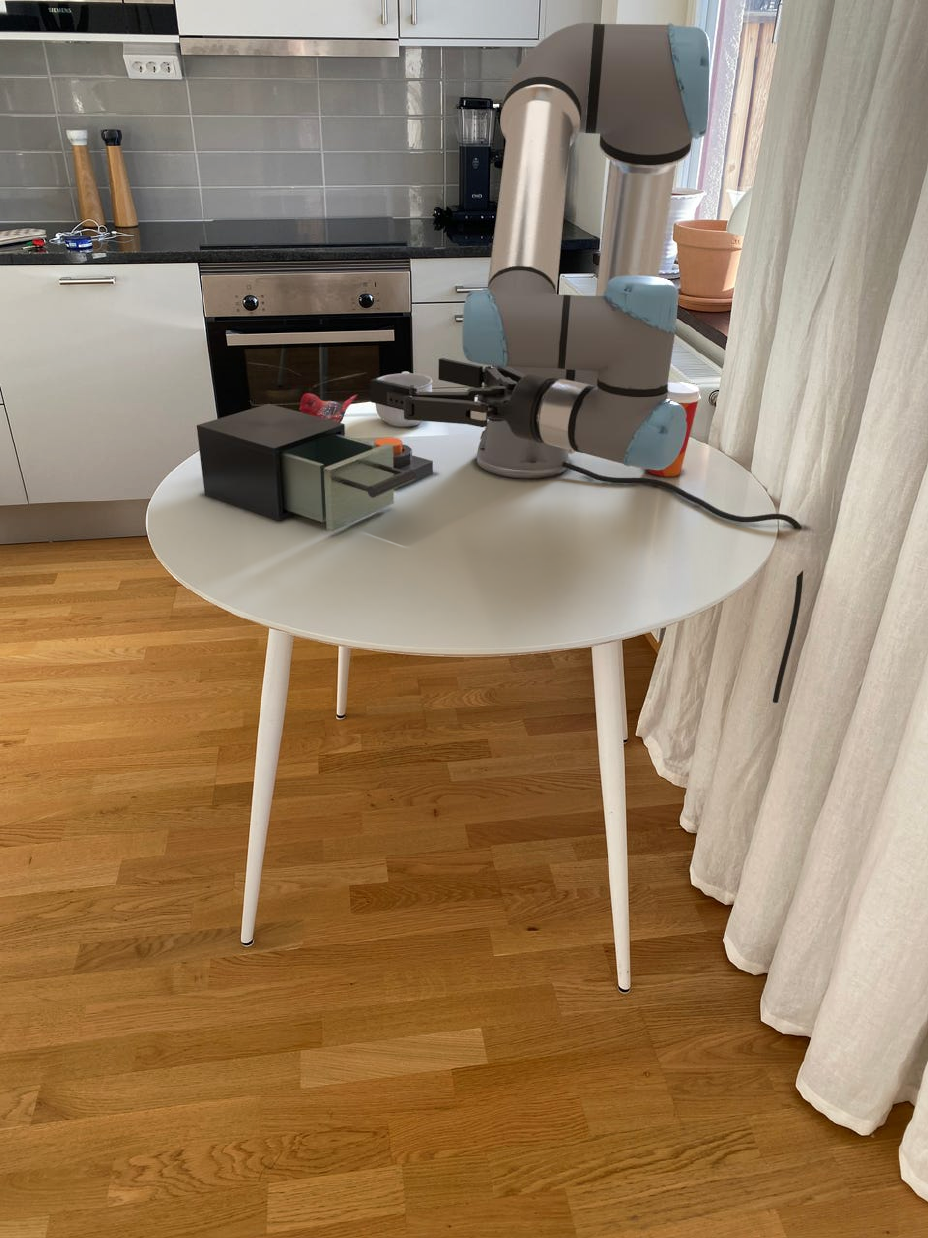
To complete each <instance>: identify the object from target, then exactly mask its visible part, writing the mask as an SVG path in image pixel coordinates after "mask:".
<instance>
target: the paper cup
mask: <svg viewBox="0 0 928 1238" xmlns="http://www.w3.org/2000/svg"><path fill="white" fill-rule="evenodd" d="M667 388H668V396H667V397H668V399H669V400H672V401H673V402H675V403H678V404H680V405H682V406H683V407H684V409H685V411H686V422H687V430H686V435H685V439H684V443H683V446H682V448H681V450H680V453H679V455H678V456H677V458H676V459H675V461H674V462H673V463H672V464H671V465H670V466H668V467H666V468H665V469H662V470H651V469H646V471H647V472H649V473H650V474H653V475H655V476H659V477H666V478H669V477H677V476H678V475H680V474H681V471H682V468H683V464H684V460H685V456H686V452H687V448H688V445H689V440H690V436H691V432H692V428H693V424H694V419H695V416H696V412H697V408H698V403H699V401H700V400H701V399H702V397H701V395H700V388H699V387H698V386H696V385H694V384H692V383H688V382H683V381H678V382H677V381H671V380H670V381H669V380H668V387H667Z"/></svg>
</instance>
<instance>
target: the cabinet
mask: <svg viewBox="0 0 928 1238" xmlns="http://www.w3.org/2000/svg"><path fill="white" fill-rule="evenodd" d="M196 431H197V440H198V450H199V456H200V459H199V460H200V467H201V475H202V483H203V492H204V496H207V497H209V498H212V499H214V500H218V501H221V502H223V503H226V504H229V505H231V506H234V507H237V508H240V509H243V510H246V511H248V512H251V513H254V514H257V515H259V516H263V517H266V518H269V519H271V520H274V521H277V522H282V521H284V520H286V519H288V518H291V517H294V516H295V515H297V514H296V513H293V512H290V511H288V510H285V509H283V503H282V489H281V475H280V461H279V453H280V452H283V451H286V450H288V449H291V448H294V447H297V446H300V445H303V444H305V443H308V442H311V441H314V440H317V439H320V438H323V437H325V436H328V435H331V434H334V433H336V434H340V435H343V436H346V425H345V423H342V422H341V423H339V422H335V421H331V420H328V419H324V418H320V417H316V416H313V415H309V414H305V413H302V412H301V411H298V410H293V409H290V408H286V407H282V406H278V405H275V404H271V403H267V404H264V405H260V406H257V407H254V408H250V409H247V410H242V411H239V412H237V413H233V414H230V415H226V416H223V417H220V418H216V419H213V420H210V421H206V422H202V423H199V424H197V425H196Z"/></svg>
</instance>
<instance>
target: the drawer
mask: <svg viewBox="0 0 928 1238" xmlns="http://www.w3.org/2000/svg"><path fill="white" fill-rule="evenodd" d="M279 461H280V475H281V489H282V503H283V509H285V510H288V511H290V512H293V513H296V515H299V516H302V517H304V518H308V519H311V520H314V521H317V522H320V523H326V530H327V531H330V532H335V531H337V530H339V529H341V528H344V527H346V526H348V525H350V524H352V523H354V522H356V521H358V520H361V519H363V518H365V517H368V516H370V515H372V514H374V513H376V512H378V511H380V510H382V509H385V508H387V507H389V506H392V505H393V504H395V493H394V492H395V490H396V489H395V488H397V487H399V486H402V485H404V484H406V483H408V482H411V481H413V480H415V479H416V472H415V471H414V470H413V469H409V470H407V471H402V470H399V469H395V468H393V445H390V444H384V445H382V446H379V447H377V448H376V444H374V443H372V442H369V441H365V440H361V439H358V438H355V437H350V436H347V435H345V436H343V435H340V434H336V433H334V434H331V435H328V436H325V437H323V438H320V439H317V440H314V441H311V442H308V443H305V444H303V445H300V446H297V447H294V448H291V449H288V450H286V451H283V452H280V453H279ZM393 474H397V475H395V476H393Z"/></svg>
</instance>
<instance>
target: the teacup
mask: <svg viewBox="0 0 928 1238" xmlns="http://www.w3.org/2000/svg"><path fill="white" fill-rule="evenodd" d="M376 379H378V380H382V381H386V382H391V383H395V384H399V385H404V386H408V387H409V386H412V385H414V388H417V392H433V379H432V377H431V376H429V375H425V374H421V373H414V372H413V373H411V372H409V371H402V372H401V373H393V374H392V373H391V374H386V375H382V376H379V377H376ZM374 404H375V410H376V413H377V414H378V417H379V418H380V419H381V420H383V421H385V423H387V425H390V426H392V427H398V428H399V427H402V428H405V427H406V428H407V427H412V426H413V427H414V426H418V425H420V424H422V423H423V422H424V421H418V420H406V419H404V410H401V409H397V408H393V407H389V406H385V405H381V404H377V403H374Z"/></svg>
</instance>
